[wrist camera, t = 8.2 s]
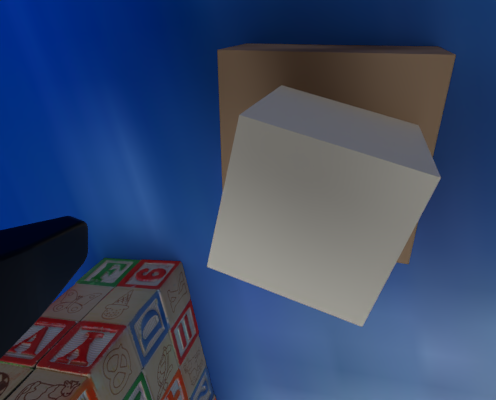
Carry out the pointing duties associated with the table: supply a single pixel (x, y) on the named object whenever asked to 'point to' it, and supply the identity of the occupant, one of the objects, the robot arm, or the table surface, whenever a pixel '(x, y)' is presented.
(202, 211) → the table surface
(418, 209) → the cream cube
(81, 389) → the stack of blocks
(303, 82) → the walnut block
